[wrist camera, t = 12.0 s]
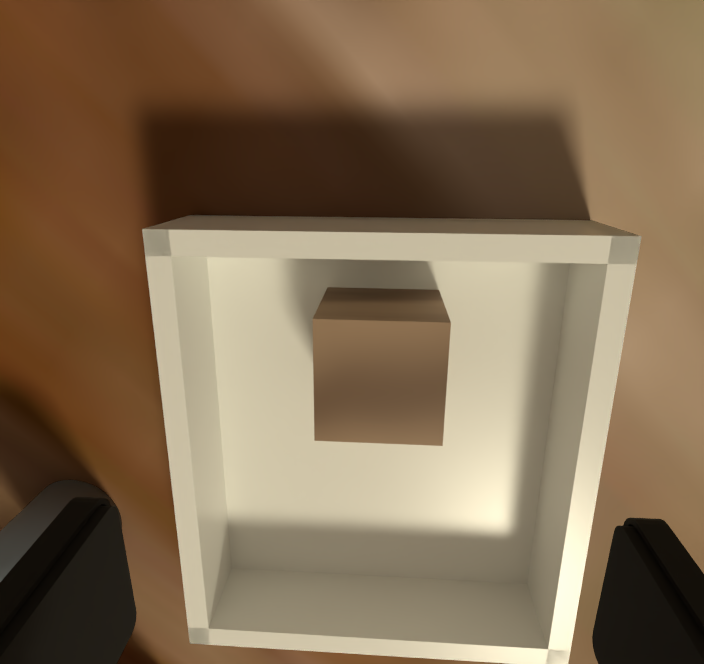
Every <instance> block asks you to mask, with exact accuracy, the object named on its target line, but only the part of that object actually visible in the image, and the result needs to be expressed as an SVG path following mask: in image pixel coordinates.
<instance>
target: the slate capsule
mask: <svg viewBox="0 0 704 664" xmlns="http://www.w3.org/2000/svg"><path fill="white" fill-rule="evenodd" d="M75 497H97V498H106V499H108V500H109V502H110V505H111V506H115V507H116V505H115V503H114V502H113V501H112V499H111V498H110V497H109V496H108V495H107V494H106V493H104V492H103V491H102V490H100V489H99V488H97V487H95V486H93V485H91V484H89V483H86V482H83V481H78V480H62V481H58V482H55V483H52V484H50V485H49V486H47V487H46V488H45V489H44V490H43V491H42V492H41V493H39V494H38V495H37V496H36V497H35V498H34V499H33V500H32V501H31V502H30V503H29V504H28V505H27V506H26V507H25V508H24V509H23V510H22V511H21V512H20V513H19V514H18V515H17V516H16V517H15V518H14V519H12V520H11V521H10V522H9V523H8V524H7V525H6V526H5V527H4V528H3V529H2V530H1V531H0V582H1V581H2V580H3V578H4V577H5V576H6V575H7V574H8V573H9V571H10V570H11V569H12V568H13V567H14V566H15V564H16V563H17V562H18V561H19V560H20V559H21V557H22V556H23V555H24V554H25V553H26V552H27V550H28V549H29V548H30V547H31V546H32V545H33V543H34V542H35V541H36V540H37V539H38V538H39V536H40V535H41V534H42V533H43V532H44V531H45V529H46V528H47V527H48V526H49V525H50V524H51V522H52V521H53V520H54V519H55V518H56V517H57V515H58V514H59V513H60V512H61V511H62V510H63V508H64V507H65V506H66V505H67V504H68V503H69V501H71V500H72V499H73V498H75ZM116 508H117V507H116ZM117 509H118V508H117ZM118 512H119V510H118ZM119 517H120V523H121V528H122V521H121V516H120V513H119Z"/></svg>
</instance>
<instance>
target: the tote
mask: <svg viewBox="0 0 704 664" xmlns="http://www.w3.org/2000/svg"><path fill="white" fill-rule="evenodd" d="M142 231H143V240H144V249H145V257H146V266H147V275H148V283H149V292H150V301H151V309H152V318H153V327H154V335H155V344H156V353H157V361H158V370H159V379H160V387H161V396H162V405H163V414H164V422H165V431H166V440H167V448H168V457H169V466H170V474H171V483H172V492H173V500H174V509H175V518H176V526H177V535H178V544H179V552H180V561H181V570H182V579H183V587H184V596H185V605H186V613H187V622H188V631H189V639H190V643H192V644H208V645H223V646H239V647H255V648H271V649H287V650H303V651H319V652H335V653H351V654H367V655H383V656H399V657H415V658H431V659H447V660H463V661H479V662H495V663H511V664H568V661H569V655H570V649H571V644H572V638H573V632H574V626H575V620H576V614H577V609H578V603H579V597H580V591H581V585H582V579H583V574H584V568H585V562H586V556H587V550H588V545H589V539H590V533H591V527H592V521H593V515H594V510H595V504H596V498H597V492H598V486H599V480H600V475H601V469H602V463H603V457H604V451H605V446H606V440H607V434H608V428H609V422H610V416H611V411H612V405H613V399H614V393H615V387H616V381H617V376H618V370H619V364H620V358H621V352H622V346H623V341H624V335H625V329H626V323H627V317H628V312H629V306H630V300H631V294H632V288H633V282H634V277H635V271H636V265H637V259H638V253H639V247H640V242H641V236H639V235H636V234H633V233H630V232H626V231H623V230H620V229H617V228H614V227H611V226H608V225H605V224H601V223H598V222H595V221H592V220H540V219H460V218H380V217H300V216H220V215H188V216H185V217H182V218H178V219H175V220H172V221H168V222H165V223H161V224H158V225H155V226H151V227H148V228H145V229H142ZM327 287H341V288H384V289H428V290H439V291H440V294H441V297H442V299H443V302H444V305H445V308H446V310H447V313H448V316H449V319H450V321H451V330H450V345H449V359H448V374H447V389H446V404H445V418H444V433H443V446H431V445H407V444H382V443H357V442H333V441H314V381H313V317H314V315H315V313H316V311H317V308H318V306H319V304H320V302H321V300H322V298H323V296H324V294H325V292H326V289H327Z"/></svg>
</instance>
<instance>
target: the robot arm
mask: <svg viewBox="0 0 704 664" xmlns="http://www.w3.org/2000/svg"><path fill="white" fill-rule="evenodd" d="M135 622H136V607H135V601H134V596H133V590H132V585H131V579H130V573H129V568H128V562H127V556H126V551H125V545H124V540H123V534H122V528H121V523H120V517H119V512H118V509H117V508H116V507H115V506H111V505H110V502H109V500H108V499H106V498H97V497H75V498H73V499H72V500H71V501H69V503H68V504H67V505H66V506H65V507H64V508H63V510H62V511H61V512H60V513H59V514H58V515H57V517H56V518H55V519H54V520H53V521H52V522H51V524H50V525H49V526H48V527H47V528H46V529H45V531H44V532H43V533H42V534H41V535H40V536H39V538H38V539H37V540H36V541H35V542H34V543H33V545H32V546H31V547H30V548H29V549H28V550H27V552H26V553H25V554H24V555H23V556H22V557H21V559H20V560H19V561H18V562H17V563H16V564H15V566H14V567H13V568H12V569H11V570H10V571H9V573H8V574H7V575H6V576H5V577H4V578H3V580H2V581H1V582H0V664H117V662H118V660H119V658H120V656H121V654H122V652H123V650H124V648H125V646H126V644H127V642H128V640H129V638H130V636H131V634H132V632H133V629H134V626H135ZM592 639H593V648H594V653H595V656H596V659H597V661H598V664H704V574H703V572H702V571H701V570H700V568H699V567H698V565H697V564H696V563H695V561H694V560H693V559H692V557H691V556H690V554H689V553H688V552H687V550H686V549H685V548H684V546H683V545H682V544H681V542H680V541H679V539H678V538H677V537H676V535H675V534H674V533H673V531H672V530H671V528H670V527H669V526H668V524H667V523H666V522H665V521H664V520H661V519H646V518H628V519H626V521H625V522H624V525H623V526H617V527H616V528H615V531H614V535H613V539H612V544H611V549H610V554H609V558H608V563H607V568H606V573H605V577H604V582H603V587H602V592H601V596H600V601H599V606H598V611H597V615H596V620H595V625H594V630H593V636H592Z"/></svg>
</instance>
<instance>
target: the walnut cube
mask: <svg viewBox="0 0 704 664" xmlns="http://www.w3.org/2000/svg"><path fill="white" fill-rule="evenodd" d="M450 330H451V321H450V319H449V316H448V313H447V310H446V308H445V305H444V302H443V299H442V297H441V294H440V291H439V290H428V289H384V288H341V287H327V289H326V292H325V294H324V296H323V298H322V300H321V302H320V304H319V306H318V308H317V311H316V313H315V315H314V317H313V381H314V441H333V442H357V443H382V444H407V445H431V446H443V433H444V418H445V404H446V389H447V374H448V359H449V345H450Z"/></svg>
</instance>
